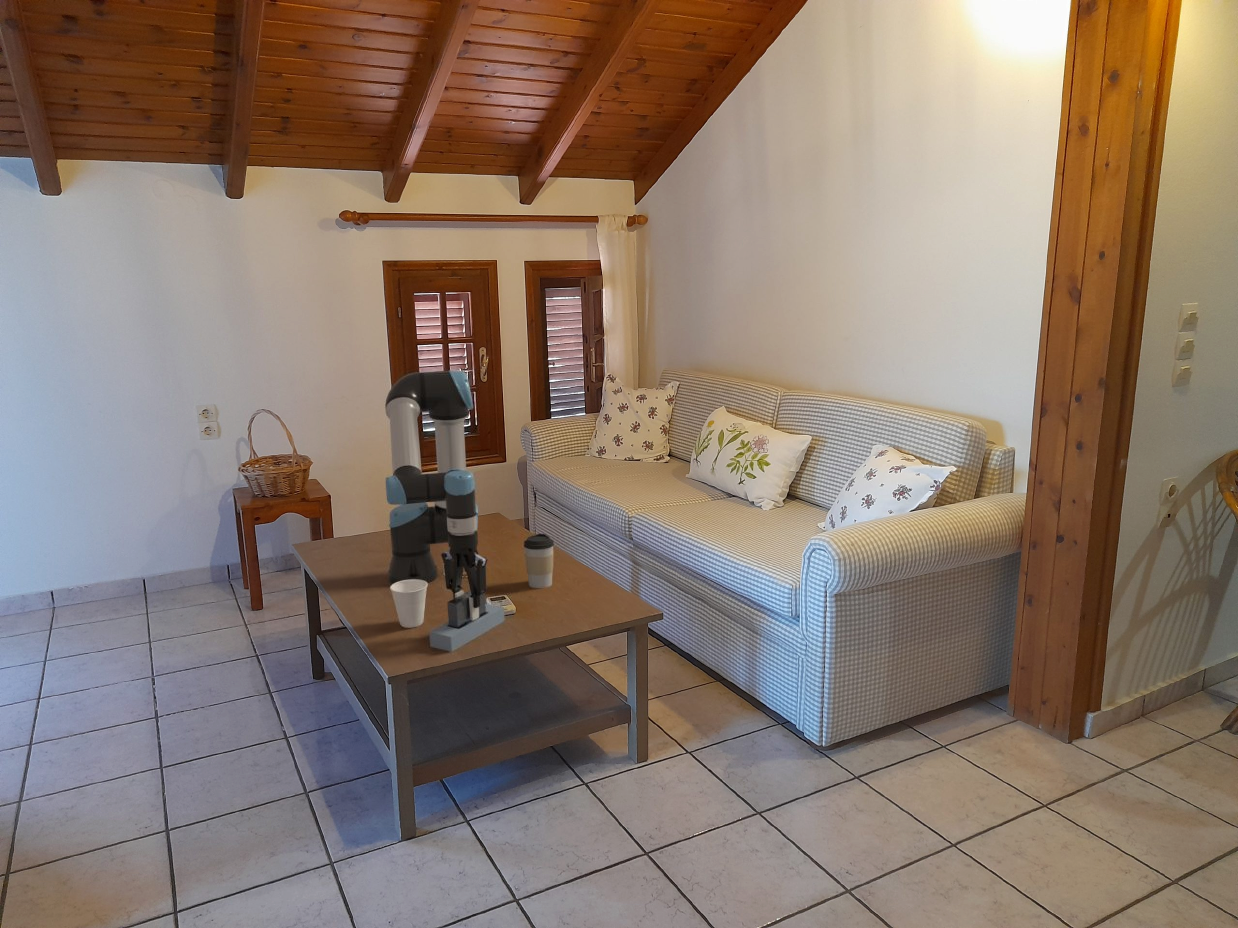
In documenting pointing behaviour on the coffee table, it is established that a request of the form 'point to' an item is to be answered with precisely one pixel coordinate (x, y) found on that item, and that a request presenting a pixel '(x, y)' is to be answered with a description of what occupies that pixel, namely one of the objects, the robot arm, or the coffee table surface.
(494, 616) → the grey block with hole
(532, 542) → the coffee cup
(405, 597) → the cup
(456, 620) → the clip
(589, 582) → the coffee table surface
